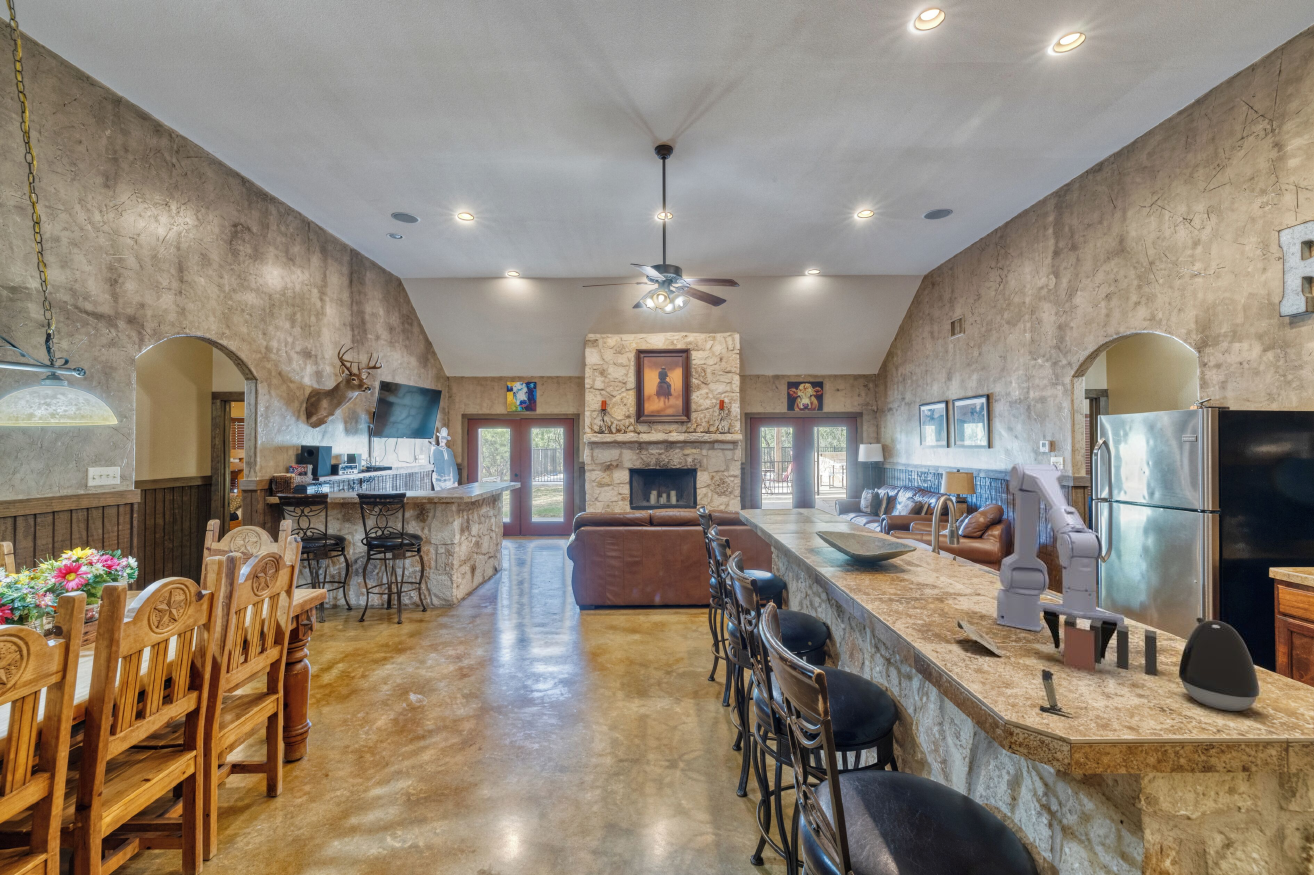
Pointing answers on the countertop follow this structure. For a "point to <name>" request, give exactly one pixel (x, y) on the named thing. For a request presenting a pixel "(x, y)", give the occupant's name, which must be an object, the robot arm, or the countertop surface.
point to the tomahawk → (1051, 695)
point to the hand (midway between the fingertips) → (1079, 652)
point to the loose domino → (1079, 648)
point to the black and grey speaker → (1218, 667)
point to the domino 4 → (1150, 652)
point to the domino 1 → (1070, 621)
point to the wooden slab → (978, 636)
